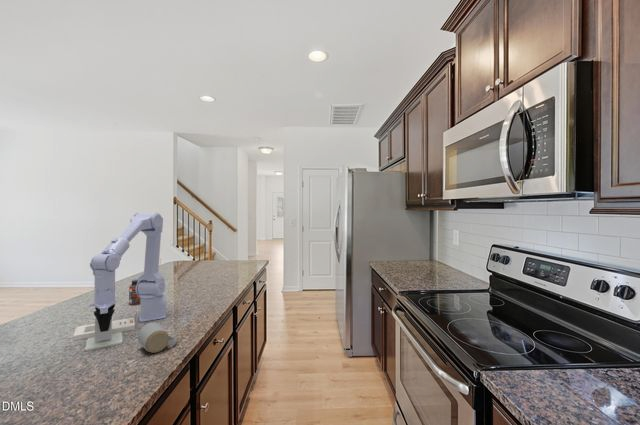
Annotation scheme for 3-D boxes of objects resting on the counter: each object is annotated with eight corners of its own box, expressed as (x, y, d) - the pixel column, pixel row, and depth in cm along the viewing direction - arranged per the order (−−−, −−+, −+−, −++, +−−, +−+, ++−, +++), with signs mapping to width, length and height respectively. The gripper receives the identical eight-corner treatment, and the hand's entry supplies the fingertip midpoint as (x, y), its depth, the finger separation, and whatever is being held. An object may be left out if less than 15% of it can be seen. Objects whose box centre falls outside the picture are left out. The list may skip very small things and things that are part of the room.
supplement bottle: (130, 306, 141) (130, 282, 141) (127, 303, 145) (128, 280, 145) (144, 303, 145) (144, 280, 145) (142, 301, 149) (142, 278, 149)
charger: (111, 334, 105) (111, 314, 105) (111, 338, 102) (111, 318, 102) (95, 337, 102) (95, 317, 102) (94, 342, 99) (95, 320, 99)
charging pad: (122, 333, 109) (122, 331, 109) (122, 343, 101) (122, 341, 101) (87, 340, 104) (87, 338, 104) (84, 351, 95) (84, 349, 95)
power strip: (133, 321, 121) (133, 316, 121) (134, 329, 113) (134, 323, 113) (76, 331, 111) (76, 325, 111) (73, 340, 103) (73, 334, 103)
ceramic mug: (145, 357, 91) (145, 332, 92) (137, 349, 97) (137, 325, 97) (180, 347, 99) (181, 323, 99) (171, 339, 105) (172, 317, 105)
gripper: (91, 286, 106) (91, 324, 106) (88, 295, 94) (88, 339, 94) (116, 283, 110) (115, 320, 110) (115, 292, 98) (115, 334, 98)
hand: (104, 328), depth 102 cm, fingers closed on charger, 4 cm apart
